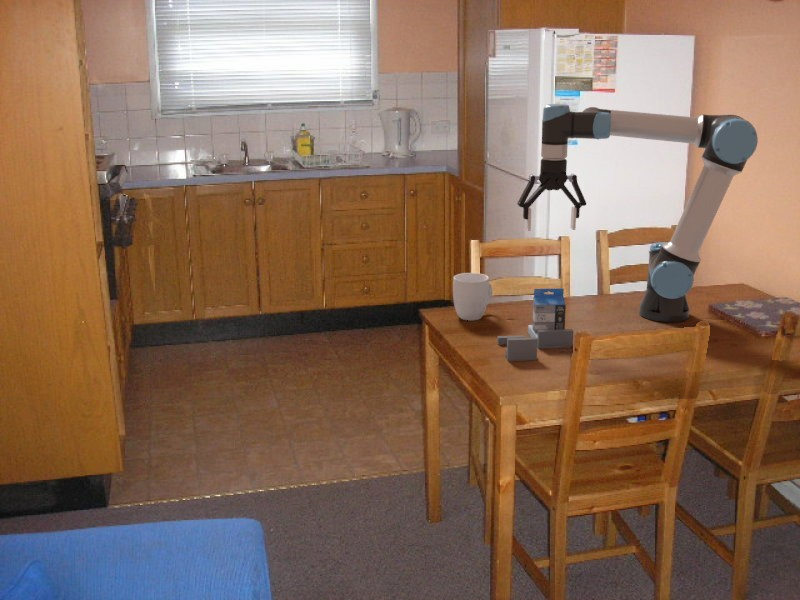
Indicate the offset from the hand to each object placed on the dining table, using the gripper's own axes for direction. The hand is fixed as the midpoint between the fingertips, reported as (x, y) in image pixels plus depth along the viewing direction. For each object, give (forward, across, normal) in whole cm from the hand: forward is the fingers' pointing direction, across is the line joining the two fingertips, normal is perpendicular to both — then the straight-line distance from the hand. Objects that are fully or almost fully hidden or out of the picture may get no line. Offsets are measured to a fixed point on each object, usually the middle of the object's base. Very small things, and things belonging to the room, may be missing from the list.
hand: (550, 229), depth 271 cm
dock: (+29, +4, +17) cm, 34 cm away
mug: (+29, +22, -6) cm, 37 cm away
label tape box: (+26, +4, +17) cm, 32 cm away
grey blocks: (+29, +15, +26) cm, 42 cm away
